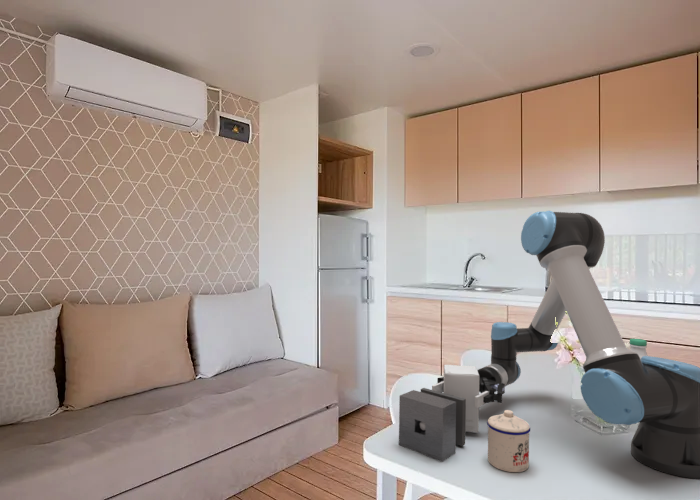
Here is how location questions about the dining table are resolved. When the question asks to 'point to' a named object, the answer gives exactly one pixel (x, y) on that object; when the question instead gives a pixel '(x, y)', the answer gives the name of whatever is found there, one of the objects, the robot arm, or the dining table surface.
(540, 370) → the dining table surface
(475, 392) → the supplement box
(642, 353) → the milk bottle
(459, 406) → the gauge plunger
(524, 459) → the teacup with lid
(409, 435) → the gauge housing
